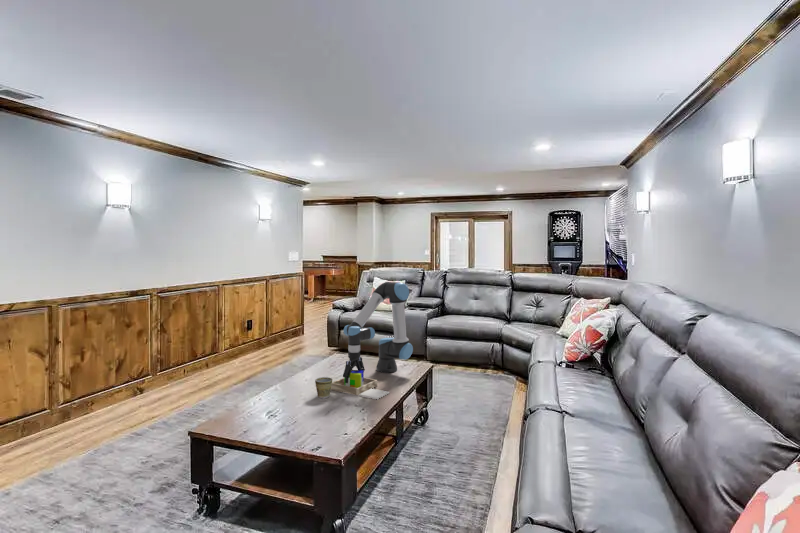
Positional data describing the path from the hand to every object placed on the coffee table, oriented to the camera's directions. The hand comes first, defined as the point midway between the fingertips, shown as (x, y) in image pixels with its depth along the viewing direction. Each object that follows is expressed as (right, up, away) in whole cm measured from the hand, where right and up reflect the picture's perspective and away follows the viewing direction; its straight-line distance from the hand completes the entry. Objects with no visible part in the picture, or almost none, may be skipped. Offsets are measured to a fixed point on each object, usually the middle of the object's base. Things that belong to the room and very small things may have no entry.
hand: (353, 385), depth 271 cm
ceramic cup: (-16, -2, -15) cm, 22 cm away
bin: (0, -2, 0) cm, 2 cm away
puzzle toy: (0, -2, 0) cm, 2 cm away
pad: (+14, -2, -13) cm, 18 cm away
